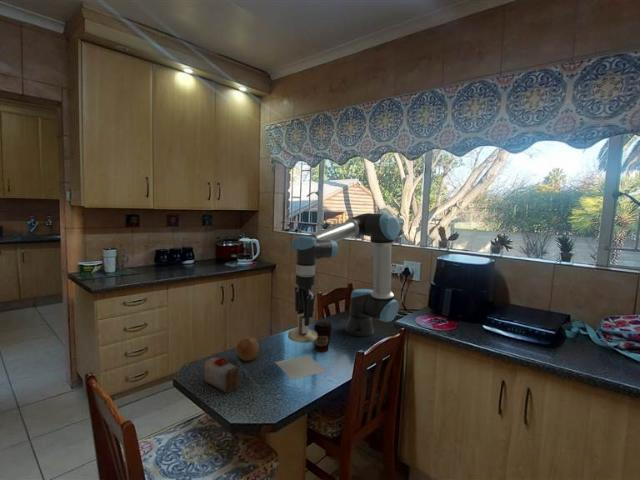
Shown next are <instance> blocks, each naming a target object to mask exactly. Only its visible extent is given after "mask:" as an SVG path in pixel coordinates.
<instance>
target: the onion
mask: <svg viewBox="0 0 640 480" xmlns="http://www.w3.org/2000/svg"><path fill="white" fill-rule="evenodd" d="M260 351H261V350H260V343H259V342H258V339H256V338H255V337H253V336H251V335H249V336H245V337H243V338H242V339H241V340H239V341H238V343H237V345H236V354H237V356H238V358H239V359H240V360H242V361H243V362H249V361H250V362H251V361H252V360H255V359H256V358H257V357H258V355H259V354H260Z"/></svg>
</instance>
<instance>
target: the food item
mask: <svg viewBox="0 0 640 480" xmlns="http://www.w3.org/2000/svg"><path fill="white" fill-rule="evenodd" d="M203 367H204V368H203V370H204V372H203V373H204V382H205V383H207V384H208V385H212V386H213V387H215V388H216V389H218V390H220V391H222V392H224V393H226V394H229V393H231V392H232V391H234V390H237V389H238V388H239V384H240V382H239V379H240V367H238V366H236V365H235V364H232V363H231V362H230V361H229V360H228V357H225V358H224V357H211V358H209V359H207V360H206V361H204V365H203Z"/></svg>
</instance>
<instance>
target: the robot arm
mask: <svg viewBox="0 0 640 480" xmlns="http://www.w3.org/2000/svg"><path fill="white" fill-rule="evenodd" d="M400 231H401V228H400V223H399V220H398V218H396V216H394V215H392V214H387V213H371V212H367V213H362V214H359V215H356V216H353V217H350V218H347V219H346V220H345V221H344V222H342V223H339V224H336V225H334V226H330V227H328V228H325V229H322V230H319V231H317V232H314V233H311V234H308V235H300V236H299V235H297V236H295V237H294V238H293V239H292V241H291V248H292V250H293V251H294V252H296V264H295V265H296V267H295V274H296V275H295V285H297V286H296V287H294V293H295V295H294V299H295V300H294V302H295V303H294V305H295V306H294V308H295V312H297V313H296V314H297V329H298V330H299V319H300V316H304V317H302V318H303V319H302V333H303V334H304V333H309V329H310V319H311V318H313V317H314V307H315V299H316V294H315V293H313V291H312V286H314V284H315V274H316V260H320V259H321V260H322V259H330V258H331V259H332V258H335V257H336V256H337V255H338V253H339V245H338V243H337V242H339V241H342V240H345V239H348V238H349V237H351V238H354V237H357V236H364V237H370V238H369V239H370V243H371V244H372V245H373V289H370V288H369V289H368V288H358V289H354V290H352V291H351V295H350V306H349V317H348V321H347V323H346V324H345V331H346V333H347V334H349V335H352V336H357V337H369V336H372V335H373V334H374V332H375V331H374V325H373V321H372V318H373V319H376V320H378V321H381V322H386V323H388V322H392V321H393V320H394V319H395V318H396V317H397V314H398V312H399V309H400V305H399V302H398V301H397V300H396V299H395V295H394V293H393V292H392V245H394V244H395V240H396V239H397V238H398V237H399V234H400Z"/></svg>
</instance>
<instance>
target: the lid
mask: <svg viewBox="0 0 640 480" xmlns="http://www.w3.org/2000/svg"><path fill="white" fill-rule="evenodd" d="M302 317H304V316H300V319H299V330H298V328H294V329H291V330H289V331H288V332H287V337H288V339H289V340H290V341H293V342H295V343H300V344H302V343H303V344H304V343H311V342H314V341H315V340H316V339H317V335H318V334H317V332H316V331H314V329H310V328H309V333H304V334H303V333H302V319H303V318H302Z"/></svg>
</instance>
